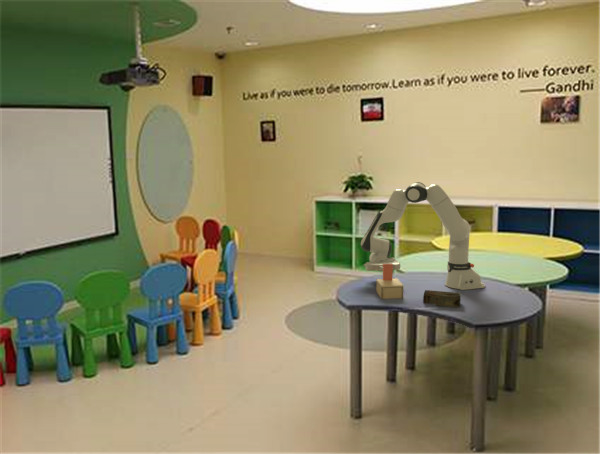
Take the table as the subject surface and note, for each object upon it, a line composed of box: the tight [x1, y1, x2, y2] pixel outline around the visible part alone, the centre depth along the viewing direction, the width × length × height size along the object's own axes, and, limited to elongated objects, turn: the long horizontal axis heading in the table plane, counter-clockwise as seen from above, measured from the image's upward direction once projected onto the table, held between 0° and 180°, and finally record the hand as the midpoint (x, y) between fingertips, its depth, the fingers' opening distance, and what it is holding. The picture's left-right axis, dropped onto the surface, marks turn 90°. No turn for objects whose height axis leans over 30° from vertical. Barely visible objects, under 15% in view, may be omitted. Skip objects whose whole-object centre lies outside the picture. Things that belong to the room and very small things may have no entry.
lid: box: [375, 264, 404, 288], centre depth 309 cm, size 14×12×10 cm
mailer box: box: [375, 280, 404, 300], centre depth 310 cm, size 14×12×7 cm
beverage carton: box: [422, 289, 462, 308], centre depth 296 cm, size 8×19×7 cm, turn 73°
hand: (385, 269), depth 320 cm, fingers closed
